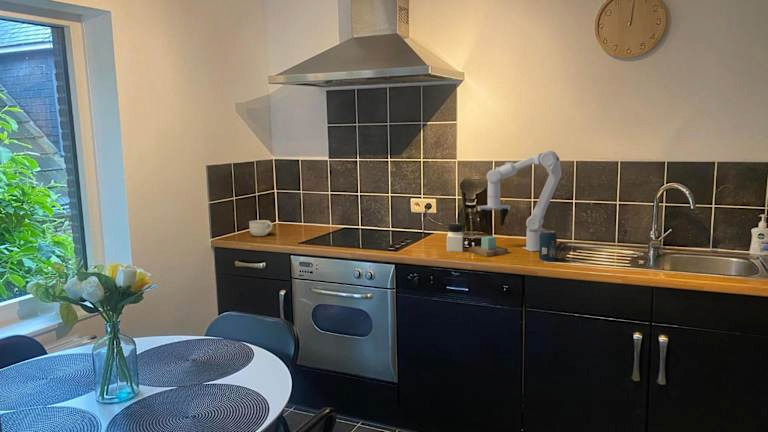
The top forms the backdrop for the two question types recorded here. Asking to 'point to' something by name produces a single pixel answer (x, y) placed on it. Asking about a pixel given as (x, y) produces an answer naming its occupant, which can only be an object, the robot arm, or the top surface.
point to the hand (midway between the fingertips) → (493, 225)
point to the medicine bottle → (455, 238)
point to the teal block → (488, 242)
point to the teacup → (260, 227)
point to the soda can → (547, 245)
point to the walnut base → (487, 251)
